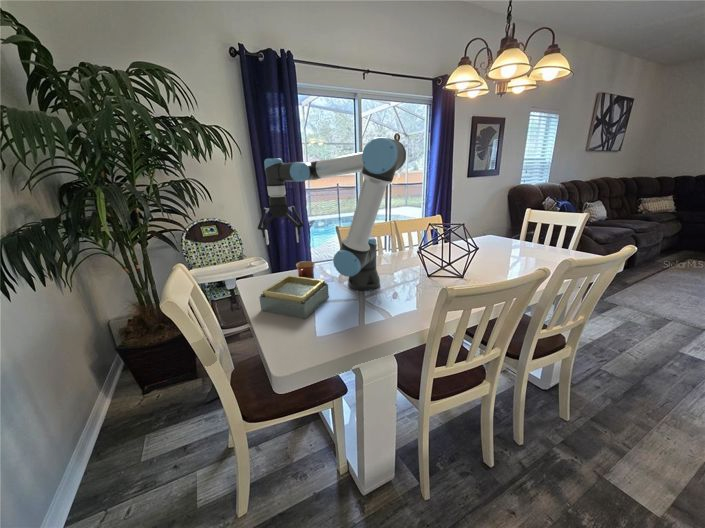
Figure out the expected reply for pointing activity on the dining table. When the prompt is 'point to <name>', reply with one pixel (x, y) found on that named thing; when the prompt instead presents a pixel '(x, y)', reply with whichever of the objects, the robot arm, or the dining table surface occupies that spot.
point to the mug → (306, 269)
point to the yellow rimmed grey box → (294, 296)
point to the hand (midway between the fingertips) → (282, 243)
